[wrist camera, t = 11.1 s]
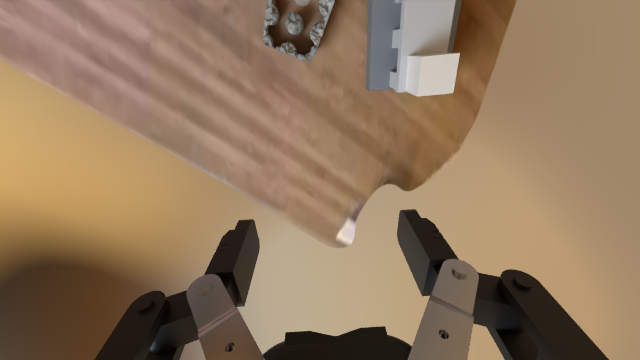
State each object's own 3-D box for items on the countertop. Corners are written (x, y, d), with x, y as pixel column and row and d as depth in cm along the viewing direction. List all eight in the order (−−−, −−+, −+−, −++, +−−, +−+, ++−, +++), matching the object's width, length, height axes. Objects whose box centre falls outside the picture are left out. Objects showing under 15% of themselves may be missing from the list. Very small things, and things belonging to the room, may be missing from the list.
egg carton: (285, -53, 29) (282, -67, 25) (342, -21, 31) (346, -31, 27) (261, 42, 34) (254, 40, 30) (311, 65, 35) (311, 66, 31)
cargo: (408, 55, 29) (421, 56, 25) (442, 52, 29) (459, 52, 25) (405, 91, 31) (417, 96, 27) (437, 87, 31) (453, 93, 27)
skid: (396, -20, 28) (407, -29, 25) (442, -23, 28) (461, -34, 25) (389, 88, 34) (397, 92, 31) (427, 85, 34) (441, 89, 31)
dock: (369, -12, 31) (373, -17, 29) (455, -19, 31) (467, -24, 28) (366, 88, 37) (369, 90, 34) (439, 83, 36) (447, 85, 34)
